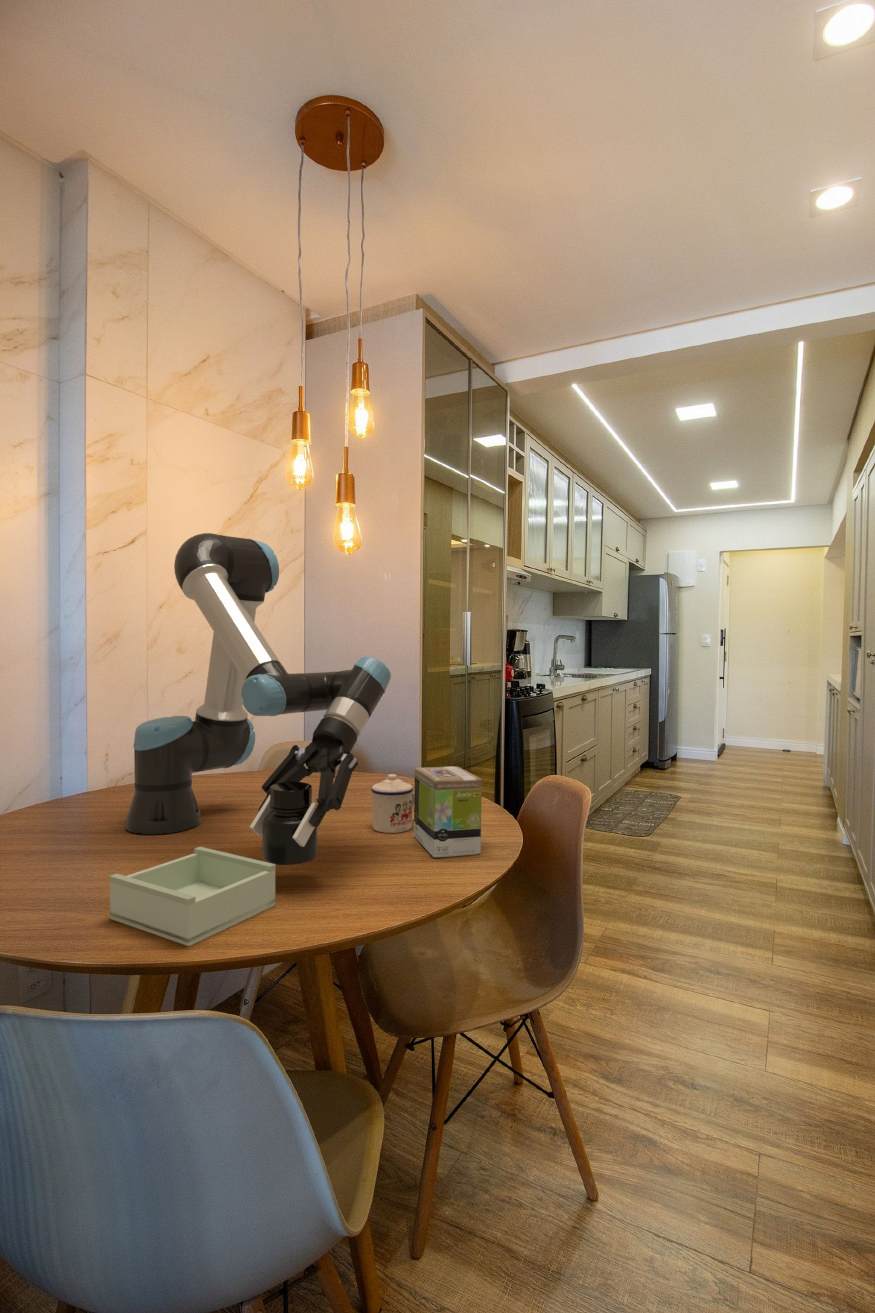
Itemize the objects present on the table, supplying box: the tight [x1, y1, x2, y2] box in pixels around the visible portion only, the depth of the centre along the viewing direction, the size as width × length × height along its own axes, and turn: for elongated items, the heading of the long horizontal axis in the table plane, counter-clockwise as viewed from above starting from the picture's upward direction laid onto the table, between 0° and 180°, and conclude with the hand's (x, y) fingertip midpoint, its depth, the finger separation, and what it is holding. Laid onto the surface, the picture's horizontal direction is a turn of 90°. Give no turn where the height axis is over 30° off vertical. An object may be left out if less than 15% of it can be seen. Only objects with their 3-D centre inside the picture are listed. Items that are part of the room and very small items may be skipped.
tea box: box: [413, 765, 483, 858], centre depth 132 cm, size 15×10×15 cm, turn 17°
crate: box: [108, 846, 277, 947], centre depth 99 cm, size 17×16×6 cm
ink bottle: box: [261, 781, 318, 866], centre depth 110 cm, size 10×9×12 cm
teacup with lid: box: [371, 773, 415, 834], centre depth 145 cm, size 12×9×12 cm
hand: (276, 836), depth 107 cm, fingers closed on ink bottle, 9 cm apart
